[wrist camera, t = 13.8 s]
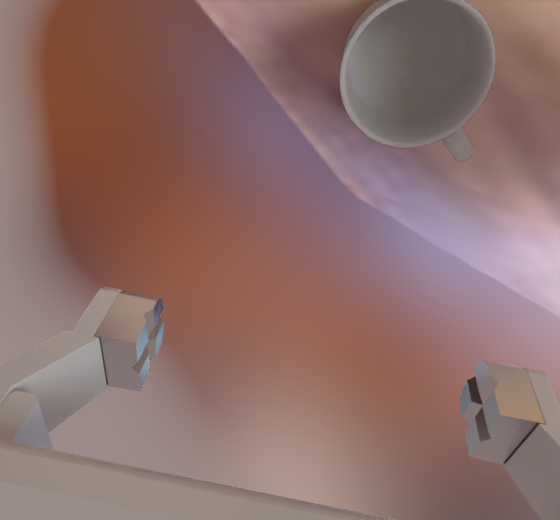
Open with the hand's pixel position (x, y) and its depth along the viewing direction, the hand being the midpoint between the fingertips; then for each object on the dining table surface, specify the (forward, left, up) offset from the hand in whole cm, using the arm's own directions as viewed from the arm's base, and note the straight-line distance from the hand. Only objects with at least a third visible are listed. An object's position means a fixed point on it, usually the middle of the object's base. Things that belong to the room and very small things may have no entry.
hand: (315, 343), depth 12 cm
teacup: (-6, +2, -35) cm, 36 cm away
